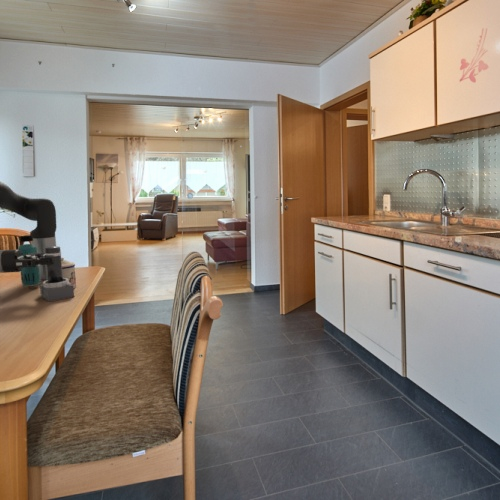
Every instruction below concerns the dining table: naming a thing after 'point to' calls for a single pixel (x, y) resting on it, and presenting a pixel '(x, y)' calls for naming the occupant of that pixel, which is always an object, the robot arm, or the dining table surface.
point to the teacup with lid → (69, 271)
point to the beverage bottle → (29, 273)
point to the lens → (54, 264)
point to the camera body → (56, 290)
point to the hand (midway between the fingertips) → (56, 258)
